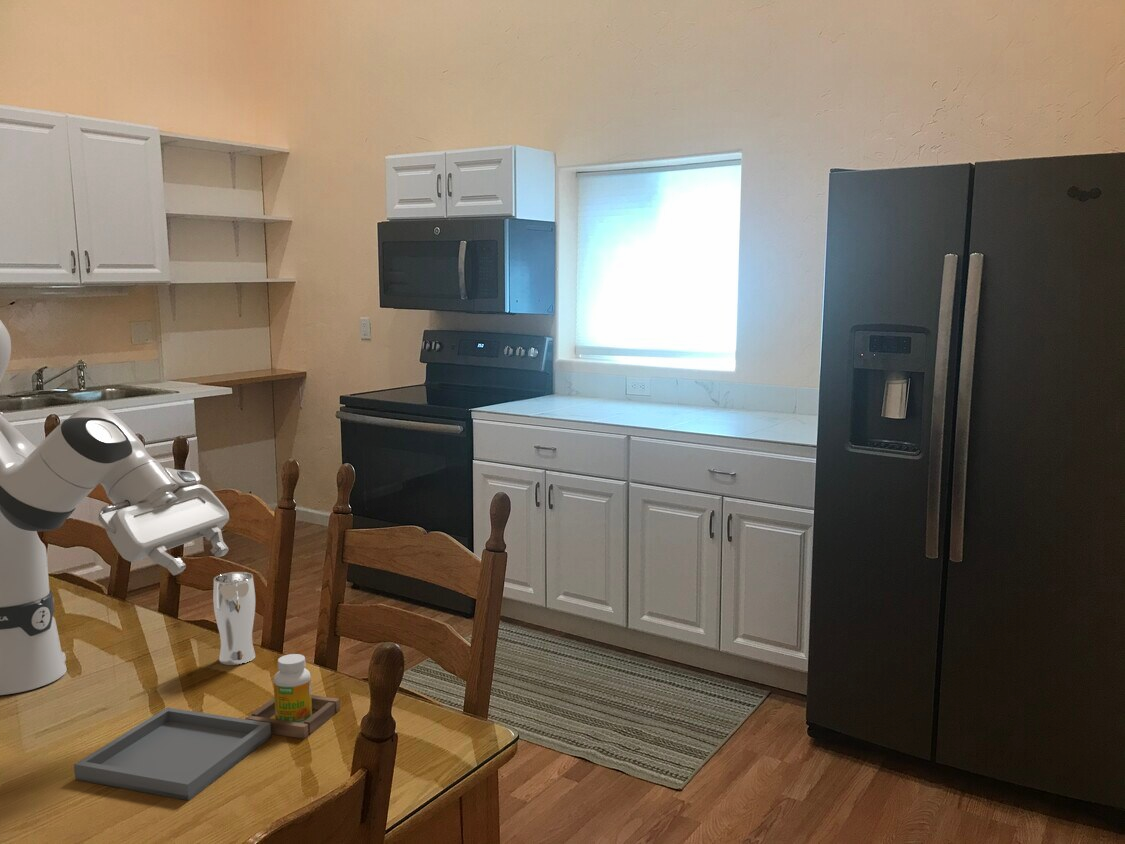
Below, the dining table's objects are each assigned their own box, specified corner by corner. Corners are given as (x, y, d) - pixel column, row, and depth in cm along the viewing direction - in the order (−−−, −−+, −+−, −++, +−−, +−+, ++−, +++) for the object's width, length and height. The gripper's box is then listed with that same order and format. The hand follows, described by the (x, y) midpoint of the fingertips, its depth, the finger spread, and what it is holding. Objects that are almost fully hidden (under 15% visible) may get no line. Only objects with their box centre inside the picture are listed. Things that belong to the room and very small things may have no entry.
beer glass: (244, 648, 171) (240, 569, 169) (265, 657, 167) (262, 576, 165) (208, 659, 166) (204, 578, 164) (230, 669, 161) (226, 585, 159)
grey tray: (75, 779, 125) (74, 764, 125) (167, 721, 142) (167, 707, 142) (188, 800, 120) (187, 784, 120) (270, 737, 137) (270, 723, 137)
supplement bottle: (274, 729, 139) (272, 667, 138) (275, 714, 144) (273, 654, 143) (312, 725, 141) (310, 663, 139) (312, 710, 146) (309, 650, 145)
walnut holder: (245, 729, 139) (245, 718, 139) (284, 701, 149) (283, 691, 149) (304, 738, 136) (304, 727, 136) (339, 709, 146) (339, 698, 146)
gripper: (103, 496, 133) (163, 569, 131) (203, 469, 152) (256, 532, 150) (81, 524, 135) (140, 596, 133) (182, 494, 154) (235, 557, 152)
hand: (202, 562), depth 142 cm, fingers open, 8 cm apart
